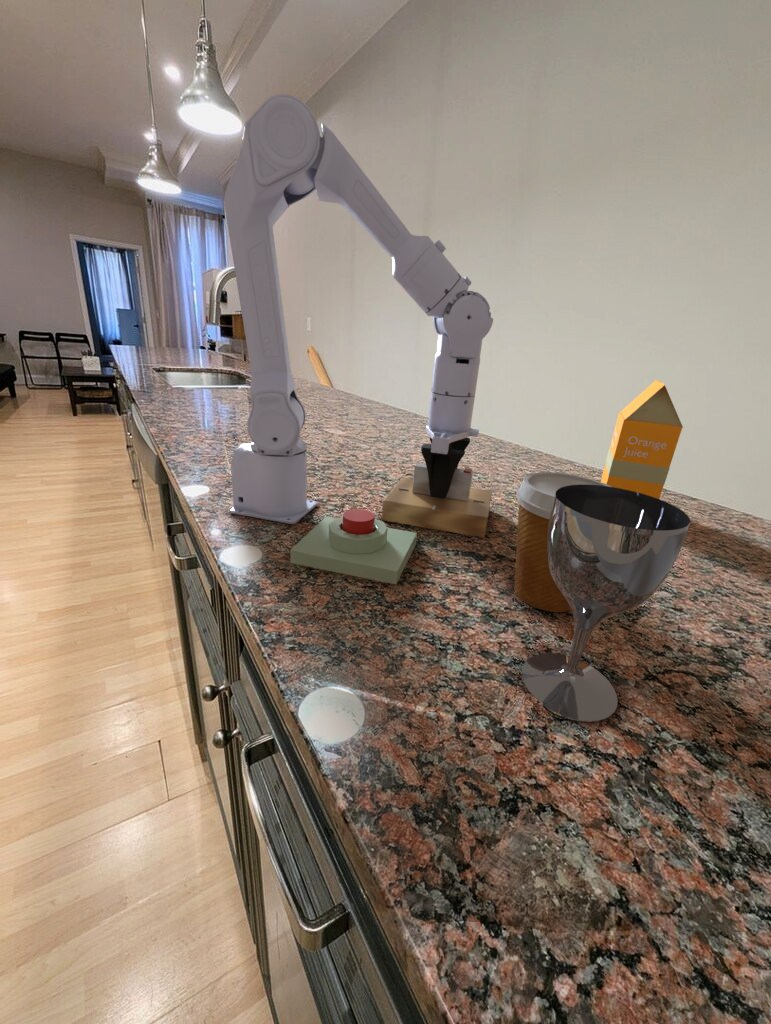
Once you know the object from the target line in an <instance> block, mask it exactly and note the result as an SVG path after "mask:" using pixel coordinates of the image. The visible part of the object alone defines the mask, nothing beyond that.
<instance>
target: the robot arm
mask: <svg viewBox="0 0 771 1024" xmlns="http://www.w3.org/2000/svg"><path fill="white" fill-rule="evenodd" d="M320 125H321V126H320V127H321V133H320V127H319V124H318V121H317V119H316V116H315V114H314V113H313V111H312V110H311V108H310V107H309V106H308V105H307V104H306V103H305V102H304V101H303V100H302V99H300V98H298V97H297V96H294V95H293V94H292V95H291V94H287V93H280V94H274V95H272V96H270V97H268V98H267V99H266V100H265V101H264V102H262V104H261V105H260V106H259V107H258V108H257V109H256V110H255V111H254V112H253V113H252V114H251V115H250V117H248V119H247V120H246V121H245V122H244V126H243V133H242V141H241V146H240V149H239V152H238V155H237V158H236V161H235V163H234V166H233V169H232V173H231V176H230V178H229V182H228V184H227V186H226V189H225V192H224V199H223V200H224V205H223V206H224V211H225V218H226V224H227V230H228V236H229V243H230V249H231V255H232V262H233V268H234V274H235V280H236V285H237V292H238V293H237V294H238V298H239V304H240V311H241V317H242V323H243V324H242V325H243V330H244V336H245V342H246V348H247V349H246V350H247V354H248V362H249V367H250V373H251V374H250V375H251V377H250V386H249V387H250V388H249V397H250V412H249V415H248V417H247V421H246V422H247V423H246V429H247V433H248V437H249V438H250V441H251V442H250V443H242V444H240V445H239V446H238V447H237V448H236V449H235V450H234V451H233V452H234V453H233V455H232V458H231V464H230V475H231V487H232V488H231V489H232V504H233V507H232V508H230V514H234V515H239V516H244V517H245V516H246V517H249V518H256V519H260V520H266V521H272V522H276V523H283V524H288V525H295V524H296V523H297V522H299V521H300V520H301V519H302V518H304V517H305V516H306V515H307V514H308V513H309V512H311V511H312V510H313V509H314V508H316V507H317V506H318V501H317V500H312V499H308V493H307V492H308V491H307V490H308V487H307V486H308V484H307V483H308V482H307V481H308V470H307V469H308V468H307V467H308V465H307V464H308V461H307V460H308V457H307V456H308V454H307V453H308V450H307V449H308V445H307V443H306V442H305V441H304V440H303V439H302V437H301V431H302V429H303V428H304V425H305V422H306V409H305V406H304V404H303V403H302V402H301V400H300V398H299V397H298V394H297V390H296V385H295V380H294V377H293V373H292V369H291V361H290V353H289V346H288V345H289V344H288V338H287V329H286V323H285V315H284V314H285V313H284V307H283V297H282V291H281V290H282V289H281V283H280V282H281V281H280V275H279V267H278V266H279V265H278V257H277V253H276V252H277V251H276V242H275V237H274V235H275V234H274V225H275V224H276V223H277V221H278V220H279V219H280V218H281V217H282V216H283V214H284V213H285V212H286V211H287V210H288V208H290V206H291V205H294V204H295V203H298V202H300V201H302V200H304V199H305V198H308V197H309V196H310V195H312V194H313V193H314V192H316V199H317V201H318V202H325V203H332V204H338V205H341V206H342V207H343V208H344V209H345V210H346V211H347V212H348V213H349V214H350V215H351V216H352V217H353V218H354V220H355V221H356V222H357V223H358V224H359V225H360V226H361V227H362V228H363V229H364V230H365V231H366V233H368V234H369V236H370V237H372V239H373V240H374V241H375V242H376V243H377V244H378V245H379V246H380V247H381V248H382V249H383V250H384V252H385V253H386V254H387V255H389V257H390V258H391V261H392V272H391V273H392V278H393V279H394V280H395V281H396V282H397V283H398V284H399V285H400V286H401V288H402V289H403V290H404V291H405V292H406V293H407V294H408V296H409V297H410V298H411V299H412V300H413V301H414V302H415V303H416V305H417V306H418V307H419V308H420V310H422V311H423V312H424V314H425V315H426V316H427V317H433V319H432V320H433V327H434V329H435V332H436V333H437V334H438V335H437V344H436V352H435V355H434V363H433V373H432V381H431V392H430V400H429V409H428V417H427V419H428V421H427V424H426V425H425V432H426V433H427V434H428V437H429V442H430V443H425V442H423V443H422V445H421V447H420V451H421V452H420V453H421V455H422V457H423V460H424V463H425V464H426V466H427V470H428V478H429V489H430V495H431V497H437V498H443V499H445V498H446V496H447V494H448V491H449V488H450V485H451V481H452V478H453V474H454V472H455V469H456V468H458V466H459V464H460V463H461V460H462V459H463V457H464V456H465V454H466V449H467V447H469V445H470V443H471V438H470V437H472V438H473V437H474V438H476V437H479V434H480V433H479V432H480V429H479V428H472V420H473V414H474V405H475V399H476V391H477V385H478V378H479V370H480V364H481V353H482V346H483V339H484V338H485V337H486V336H487V335H488V334H489V332H490V331H491V328H492V326H493V324H494V318H493V317H492V312H490V310H491V307H490V304H489V302H488V300H487V298H485V297H484V296H483V295H482V294H481V293H479V292H477V291H474V290H469V288H470V286H471V285H472V281H471V279H470V278H469V277H468V276H464V277H463V276H461V274H460V273H459V272H458V270H457V269H456V268H455V267H454V265H453V264H452V263H451V262H450V260H449V259H448V258H447V257H446V256H445V255H444V252H445V251H446V247H445V245H444V244H443V242H441V240H439V239H438V240H436V241H435V242H434V241H433V240H432V239H431V237H429V235H414V234H412V233H411V232H410V231H409V230H408V228H407V227H406V225H405V224H404V223H403V221H402V219H400V218H399V216H398V215H397V213H396V212H395V210H393V209H392V207H391V206H390V205H389V203H388V202H387V200H386V199H385V198H384V197H383V196H382V194H381V193H380V191H379V190H378V189H377V188H376V186H375V185H374V184H373V183H372V181H371V180H370V178H369V177H368V176H367V175H366V173H365V172H364V170H362V168H361V166H360V165H359V164H358V163H357V162H356V160H355V159H354V158H353V156H352V155H351V154H350V153H349V151H348V150H347V148H346V147H345V146H344V145H343V144H342V143H341V141H340V140H339V139H338V137H337V135H336V134H335V133H334V132H333V131H332V130H331V129H330V128H329V127H328V126H327V125H326V124H325V123H323V122H321V123H320Z"/></svg>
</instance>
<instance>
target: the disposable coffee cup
mask: <svg viewBox="0 0 771 1024" xmlns="http://www.w3.org/2000/svg"><path fill="white" fill-rule="evenodd" d="M570 485H600V486H608V487H611V486H609V485H607V484H605V483H602V482H601V480H600V481H599V480H596V479H594V478H590V477H585V476H581V475H576V474H569V473H564V472H563V473H562V472H549V471H547V472H546V471H544V472H534V473H530V474H527V475H525V476H524V478H523V480H522V482H521V484H520V485H519V486H518V487H517V488H516V490H515V494H516V497H517V502H518V516H517V517H518V518H517V520H518V521H517V534H516V535H517V536H516V550H515V552H516V553H515V568H514V569H515V570H514V582H513V583H514V585H513V590H514V594H515V595H516V596H517V597H518V598H519V600H521V601H522V602H524V603H526V604H527V605H529V606H530V607H533V608H535V609H538V610H541V611H546V612H551V613H564V612H569V611H572V610H571V608H570V606H569V604H568V602H567V601H566V599H565V598H564V596H563V595H562V593H561V592H560V590H559V589H558V587H557V586H556V584H555V582H554V581H553V578H552V576H551V574H550V571H549V567H548V561H547V538H548V525H549V519H550V514H551V508H552V504H553V500H554V496H555V493H556V491H557V490H558V489H560V488H561V487H565V486H570Z"/></svg>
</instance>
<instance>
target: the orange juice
mask: <svg viewBox="0 0 771 1024" xmlns="http://www.w3.org/2000/svg"><path fill="white" fill-rule="evenodd" d="M617 415H618V416H617V419H616V422H615V426H614V430H613V434H612V438H611V441H610V446H609V448H608V452H607V454H606V455H607V456H606V459H605V464H604V467H603V470H602V471H603V472H602V476H601V480H600V482H602V483H605V484H607V485H609V486H611V487H615V488H620V489H625V490H630V491H634V492H638V493H642V494H645V495H648V496H651V497H654V498H657V499H660V498H661V496H662V492H663V489H664V486H665V484H666V481H667V478H668V475H669V471H670V468H671V463H672V460H673V458H674V455H675V452H676V449H677V445H678V442H679V439H680V436H681V433H682V430H683V429H684V426H683V424H682V422H681V419H680V418H679V415H678V413H677V410H676V408H675V406H674V403H673V400H672V398H671V396H670V394H669V392H668V389H667V386H666V384H665V383H663V382H662V381H659V380H657V379H655V380H654V381H653V382H651V384H649V386H647V387H646V388H645V389H644V390H643V391H642V392H640V394H639V395H637V396H636V397H635V398H634V399H633V400H632V401H631V402H630V403H628V404H627V405H626V406H625V407H624V408H623V409H622V410H620V411H619V412H618V414H617Z"/></svg>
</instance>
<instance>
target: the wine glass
mask: <svg viewBox="0 0 771 1024" xmlns="http://www.w3.org/2000/svg"><path fill="white" fill-rule="evenodd" d="M690 525H691V519H690V517H689V515H688V514H687V513H686V512H684V511H683V510H682V509H680V508H679V507H677V506H675V505H673V504H671V503H669V502H667V501H664V500H662V499H660V498H659V499H657V498H654V497H651V496H648V495H645V494H642V493H638V492H634V491H630V490H625V489H620V488H615V487H608V486H600V485H570V486H565V487H561V488H560V489H558V490H557V491H556V493H555V496H554V500H553V504H552V508H551V514H550V519H549V525H548V538H547V561H548V567H549V571H550V574H551V576H552V578H553V581H554V582H555V584H556V586H557V587H558V589H559V590H560V592H561V593H562V595H563V596H564V598H565V599H566V601H567V602H568V604H569V606H570V608H571V610H570V611H571V612H572V613H571V614H572V616H573V621H574V625H573V626H574V627H573V628H574V629H573V637H572V643H571V649H570V654H569V655H567V654H562V653H557V652H542V653H539V654H536V655H533V656H531V657H530V658H528V659H527V660H526V661H524V663H523V666H522V669H521V678H522V681H523V682H524V685H525V688H526V689H527V690H528V692H529V693H530V694H531V695H532V696H533V697H534V698H535V699H536V700H537V701H538V702H539V703H541V704H542V707H543V708H544V709H546V710H548V711H550V712H551V713H553V714H555V715H558V716H560V717H562V718H565V719H568V720H572V721H577V722H580V723H581V722H583V723H596V722H602V721H605V720H607V719H609V718H610V717H612V716H613V715H614V714H615V713H616V711H617V708H618V704H619V699H618V695H617V692H616V690H615V688H614V687H613V685H612V683H611V682H610V681H609V680H608V679H607V677H606V676H605V675H603V674H602V673H601V672H600V671H599V670H598V669H596V667H593V666H592V665H590V664H588V663H587V662H585V661H583V660H581V659H582V657H583V653H584V651H585V649H586V646H587V644H588V642H589V640H590V639H591V636H592V634H593V632H594V631H595V629H596V628H597V627H598V626H599V625H600V624H601V623H603V622H605V621H606V620H608V619H610V618H612V617H614V616H618V615H620V614H622V613H625V612H628V611H630V610H633V609H636V608H637V607H639V606H641V605H642V604H644V603H646V602H647V601H648V600H650V599H651V598H652V597H653V595H655V594H656V592H657V591H658V590H659V588H660V587H661V586H662V585H663V583H664V581H665V580H666V579H667V577H668V576H669V573H670V572H671V570H672V568H673V567H674V565H675V563H676V561H677V559H678V556H679V554H680V552H681V550H682V547H683V544H684V542H685V539H686V537H687V535H688V531H689V528H690Z"/></svg>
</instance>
